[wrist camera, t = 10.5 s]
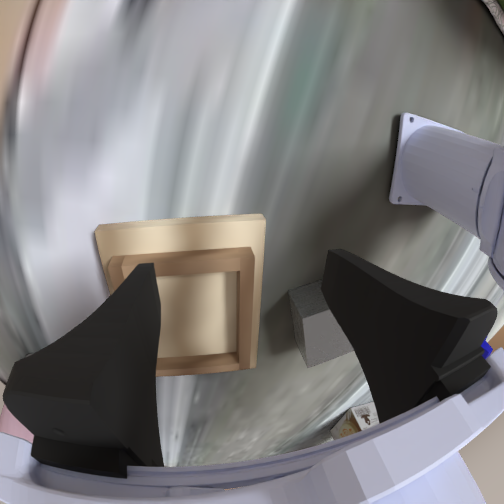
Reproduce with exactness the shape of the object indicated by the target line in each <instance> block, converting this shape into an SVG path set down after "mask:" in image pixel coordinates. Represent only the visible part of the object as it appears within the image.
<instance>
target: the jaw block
mask: <svg viewBox="0 0 504 504" xmlns="http://www.w3.org/2000/svg"><path fill="white" fill-rule="evenodd" d="M322 281H323V279H322V280H319V281H316V282H313V283H310V284H307V285H304V286H300V287H297V288H294V289H291V290H288V295H289V301H290V307H291V314H292V321H293V327H294V334H295V341H296V343H297V345H298V348H299V350H300V352H301V354H302V357H303V359H304V361H305V363H306V366H307V368H309V367H312V366H315V365H318V364H321V363H323V362H326V361H329V360H331V359H334V358H337V357H339V356H342V355H344V354H347V353H349V352H352V351H354V349H353V347H352V345H351V344H350V342H349V340H348V339H347V337H346V335H345V334H344V332H343V330H342V329H341V327H340V326H339V324H338V322H337V321H336V319H335V317H334V316H333V314H332V312H331V311H330V309H329V307H328V305H327V303H326V301H325V298H324V296H323V293H322V291H321V286H322Z"/></svg>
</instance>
